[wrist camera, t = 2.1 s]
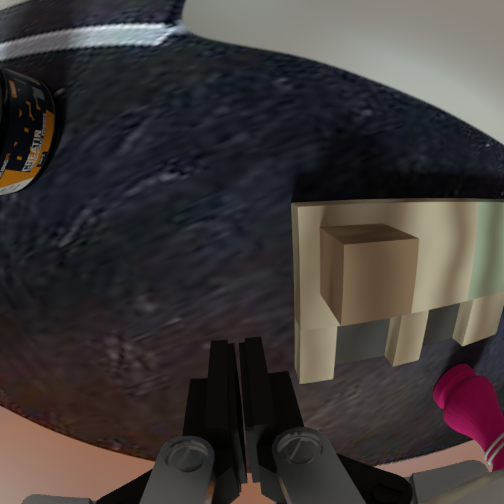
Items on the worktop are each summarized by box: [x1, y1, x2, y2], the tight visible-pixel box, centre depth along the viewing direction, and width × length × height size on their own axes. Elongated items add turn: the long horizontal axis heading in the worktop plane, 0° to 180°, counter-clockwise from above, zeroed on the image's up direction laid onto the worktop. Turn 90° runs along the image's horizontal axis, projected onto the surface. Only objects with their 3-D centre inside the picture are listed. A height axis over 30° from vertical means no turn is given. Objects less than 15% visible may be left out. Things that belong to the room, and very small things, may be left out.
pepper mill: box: [433, 363, 504, 472], centre depth 20 cm, size 7×7×20 cm
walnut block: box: [320, 223, 419, 326], centre depth 19 cm, size 5×5×5 cm
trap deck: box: [291, 198, 504, 384], centre depth 24 cm, size 24×15×2 cm, turn 94°
